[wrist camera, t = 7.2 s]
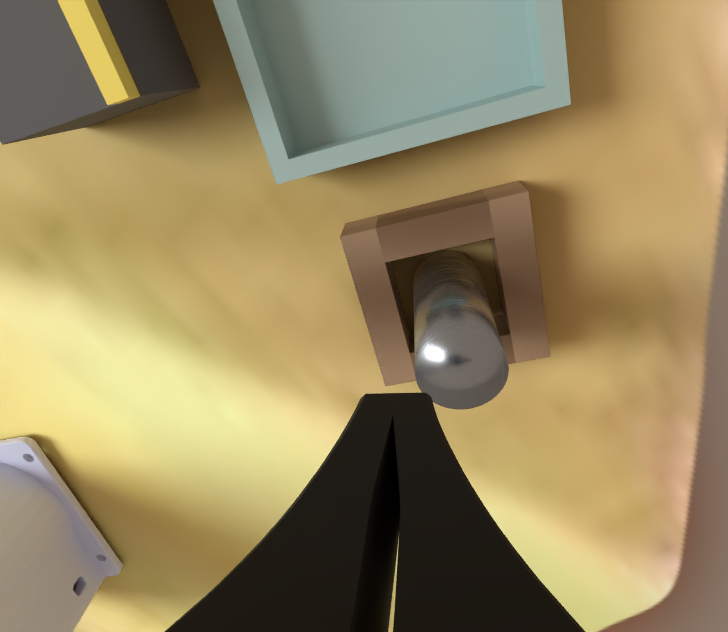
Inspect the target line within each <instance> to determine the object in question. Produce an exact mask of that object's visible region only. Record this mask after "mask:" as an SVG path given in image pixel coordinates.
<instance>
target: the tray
mask: <svg viewBox="0 0 728 632" xmlns="http://www.w3.org/2000/svg"><path fill="white" fill-rule="evenodd" d="M213 2H214V5H215V8H216V11H217V14H218V17H219V20H220V22H221V25H222V28H223V31H224V34H225V37H226V40H227V43H228V46H229V48H230V51H231V54H232V57H233V60H234V63H235V66H236V69H237V72H238V74H239V77H240V80H241V83H242V86H243V89H244V92H245V95H246V98H247V100H248V103H249V106H250V109H251V112H252V115H253V118H254V121H255V124H256V126H257V129H258V132H259V135H260V138H261V141H262V144H263V147H264V150H265V153H266V155H267V158H268V161H269V164H270V167H271V170H272V173H273V176H274V179H275V181H276V184H280V183H284V182H287V181H291V180H295V179H299V178H302V177H306V176H310V175H313V174H317V173H321V172H324V171H328V170H332V169H335V168H339V167H343V166H346V165H350V164H354V163H357V162H361V161H365V160H369V159H372V158H376V157H380V156H383V155H387V154H391V153H394V152H398V151H402V150H405V149H409V148H413V147H416V146H420V145H424V144H428V143H431V142H435V141H439V140H442V139H446V138H450V137H453V136H457V135H461V134H464V133H468V132H472V131H475V130H479V129H483V128H486V127H490V126H494V125H498V124H501V123H505V122H509V121H512V120H516V119H520V118H523V117H527V116H531V115H534V114H538V113H542V112H545V111H549V110H553V109H556V108H560V107H564V106H568V105H571V98H570V87H569V76H568V64H567V53H566V42H565V31H564V19H563V8H562V0H213Z"/></svg>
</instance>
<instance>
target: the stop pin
mask: <svg viewBox="0 0 728 632" xmlns="http://www.w3.org/2000/svg"><path fill="white" fill-rule="evenodd" d="M414 341H415V377H416V381H417V384H418V386H419V388H420V390H421V391H422V393H427V394H428V395H430V396H431V397H432V401H433V402H434V403H436V404H438V405H440V406H443V407H446V408H451V409H470V408H474V407H478V406H481V405H483V404H485V403H487V402H489V401H490V400H492V399H493V398H494V397H495V396H496V395H497V394H498V393H499V392H500V391H501V390H502V389H503V387H504V385H505V383H506V381H507V377H508V371H509V367H508V361H507V358H506V354H505V351H504V348H503V345H502V342H501V339H500V336H499V333H498V330H497V327H496V324H495V321H494V317H493V314H492V311H491V308H490V305H489V302H488V299H487V296H486V293H485V290H484V287H483V284H482V280H481V277H480V274H479V271H478V269H477V267H476V265H475V263H474V262H473V261H472V260H471V259H470V258H469V257H467V256H466V255H464V254H462V253H459V252H456V251H440V252H436V253H434V254H431V255H430V256H428V257H427V258H425V259H424V260H423V261H422V262H421V263H420V265H419V266H418V268H417V269H416V272H415V275H414Z"/></svg>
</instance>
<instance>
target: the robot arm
mask: <svg viewBox="0 0 728 632" xmlns="http://www.w3.org/2000/svg"><path fill="white" fill-rule="evenodd" d="M398 537H399V547H398ZM397 547H398V565H397V581H396V598H395V613H394V627H393V632H585V631H584V630H583V629H582V627H581V626H580V625H579V624H578V623H577V622H576V621H575V620H574V618H573V617H572V616H571V615H570V614H569V613H568V612H567V611H566V609H565V608H564V607H563V606H562V605H561V604H560V603H559V601H558V600H557V599H556V598H555V597H554V596H553V595H552V594H551V592H550V591H549V590H548V589H547V588H546V587H545V586H544V585H543V583H542V582H541V581H540V580H539V579H538V578H537V576H536V575H535V574H534V573H533V571H532V570H531V569H530V568H529V566H528V565H527V564H526V562H525V561H524V560H523V559H522V557H521V556H520V555H519V554H518V552H517V551H516V550H515V548H514V547H513V546H512V544H511V543H510V542H509V540H508V539H507V538H506V536H505V535H504V534H503V532H502V531H501V530H500V528H499V527H498V525H497V524H496V522H495V521H494V520H493V518H492V517H491V515H490V514H489V512H488V511H487V509H486V508H485V506H484V505H483V503H482V501H481V500H480V498H479V497H478V495H477V493H476V492H475V490H474V489H473V487H472V486H471V484H470V482H469V480H468V479H467V477H466V475H465V474H464V472H463V470H462V468H461V466H460V464H459V463H458V461H457V459H456V457H455V455H454V453H453V451H452V449H451V448H450V445H449V443H448V441H447V439H446V437H445V435H444V433H443V430H442V428H441V426H440V423H439V421H438V418H437V415H436V412H435V409H434V405H433V401H432V397H431V396H430V395H428V394H427V393H384V394H365V395H364V396H363V397H362V398H361V399H360V401H359V403H358V405H357V407H356V409H355V411H354V413H353V415H352V417H351V419H350V420H349V422H348V424H347V426H346V427H345V429H344V431H343V432H342V434H341V436H340V437H339V439H338V441H337V442H336V444H335V445H334V447H333V448H332V450H331V451H330V453H329V455H328V456H327V458H326V459H325V461H324V462H323V464H322V465H321V467H320V468H319V469H318V471H317V472H316V474H315V475H314V476H313V478H312V479H311V480H310V482H309V483H308V484H307V486H306V487H305V488H304V490H303V491H302V492H301V494H300V495H299V496H298V498H297V499H296V500H295V502H294V503H293V504H292V505H291V507H290V508H289V509H288V510H287V511H286V513H285V514H284V515H283V516H282V517H281V519H280V520H279V521H278V522H277V523H276V525H275V526H274V527H273V528H272V529H271V530H270V531H269V532H268V533H267V535H266V536H265V537H264V538H263V539H262V540H261V541H260V542H259V543H258V545H257V546H256V547H255V548H254V549H253V550H252V551H251V552H250V553H249V554H248V555H247V556H246V557H245V558H244V559H243V560H242V561H241V562H240V563H239V564H238V565H237V566H236V567H235V568H234V569H233V570H232V571H231V572H230V573H229V574H228V575H227V576H226V577H225V578H224V579H223V580H222V581H221V582H220V583H219V584H218V585H217V586H216V587H215V588H214V589H213V590H211V591H210V592H209V593H208V594H207V595H206V596H205V597H204V598H203V599H201V600H200V601H199V602H198V603H197V604H196V605H195V606H193V607H192V608H191V609H190V610H189V611H188V612H187V613H185V614H184V615H183V616H182V617H181V618H180V619H179V620H177V621H176V622H175V623H174V624H173V625H172V626H171V627H169V628H168V629H167V630H166V631H165V632H388V627H389V618H390V609H391V600H392V591H393V582H394V573H395V565H396V556H397ZM122 568H123V565H122V563H121V562H120V560H119V559H118V557H117V556H116V554H115V553H114V552H113V550H112V549H111V547H110V546H109V545H108V543H107V542H106V540H105V539H104V537H103V536H102V535H101V533H100V532H99V530H98V529H97V528H96V526H95V525H94V523H93V522H92V520H91V519H90V518H89V516H88V515H87V513H86V512H85V511H84V509H83V508H82V506H81V505H80V503H79V502H78V501H77V499H76V498H75V496H74V495H73V494H72V492H71V491H70V489H69V488H68V487H67V485H66V484H65V482H64V481H63V479H62V478H61V477H60V475H59V474H58V472H57V471H56V470H55V468H54V467H53V465H52V464H51V462H50V461H49V460H48V458H47V457H46V455H45V454H44V453H43V451H42V450H41V448H40V447H39V445H38V444H37V443H36V442H35V441H34V440H33V439H32V438H29V437H17V438H12V439H6V440H1V441H0V632H73V631H74V629H75V627H76V626H77V624H78V622H79V621H80V619H81V617H82V616H83V614H84V612H85V610H86V609H87V607H88V605H89V604H90V602H91V600H92V599H93V597H94V595H95V594H96V592H97V590H98V588H99V587H100V585H101V583H102V582H103V580H104V578H105V577H110V576H116V575H118V574H119V573H120V572H121V570H122Z"/></svg>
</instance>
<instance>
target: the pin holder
mask: <svg viewBox="0 0 728 632" xmlns="http://www.w3.org/2000/svg"><path fill="white" fill-rule="evenodd" d="M490 238H491V244H492V250H493V255H494V261H495V267H496V273H497V279H498V285H499V290H500V296H501V302H502V308H503V314H504V315H500V316H495V317H494V321H495V324H496V327H497V330H498V333H499V336H500V339H501V342H502V345H503V348H504V351H505V354H506V358H507V361H508V364H512V363H517V362H523V361H528V360H534V359H539V358H545V357H550V351H549V343H548V336H547V328H546V321H545V313H544V306H543V298H542V290H541V283H540V275H539V268H538V260H537V252H536V245H535V237H534V230H533V222H532V214H531V207H530V199H529V192H528V190H527V189H526V188H525V187H524V186H523V185H522V184H521V182H520V181H516V182H512V183H508V184H504V185H500V186H496V187H491V188H487V189H483V190H479V191H475V192H471V193H467V194H463V195H459V196H455V197H451V198H447V199H443V200H439V201H435V202H431V203H427V204H423V205H419V206H415V207H411V208H407V209H403V210H399V211H395V212H391V213H387V214H383V215H379V216H375V217H371V218H367V219H363V220H359V221H355V222H351V223H346V224H345V226H344V228H343V231H342V233H341V236H340V239H341V242H342V245H343V248H344V252H345V255H346V258H347V262H348V265H349V268H350V271H351V275H352V278H353V281H354V284H355V288H356V291H357V294H358V298H359V301H360V304H361V307H362V311H363V314H364V317H365V320H366V324H367V327H368V330H369V334H370V337H371V340H372V343H373V347H374V350H375V353H376V357H377V360H378V363H379V366H380V370H381V373H382V376H383V379H384V383H385V386H390V385H395V384H401V383H406V382H412V381H416V377H415V341H414V333H409V329H408V326H407V322H406V318H405V314H404V311H403V307H402V303H401V299H400V296H399V292H398V288H397V284H396V281H395V277H394V273H393V269H392V266H391V262H390V261H394V260H398V259H403V258H407V257H411V256H416V255H420V254H424V253H429V252H433V251H437V250H442V249H446V248H451V247H455V246H459V245H464V244H468V243H472V242H477V241H481V240H485V239H490Z"/></svg>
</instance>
